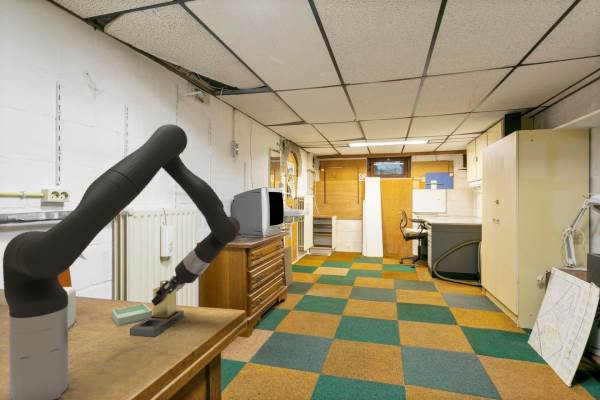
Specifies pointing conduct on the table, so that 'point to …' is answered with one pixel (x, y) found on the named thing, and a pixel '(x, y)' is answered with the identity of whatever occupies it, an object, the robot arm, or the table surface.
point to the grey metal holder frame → (155, 325)
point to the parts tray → (131, 314)
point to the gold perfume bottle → (165, 304)
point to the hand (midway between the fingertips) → (160, 299)
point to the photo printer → (71, 305)
